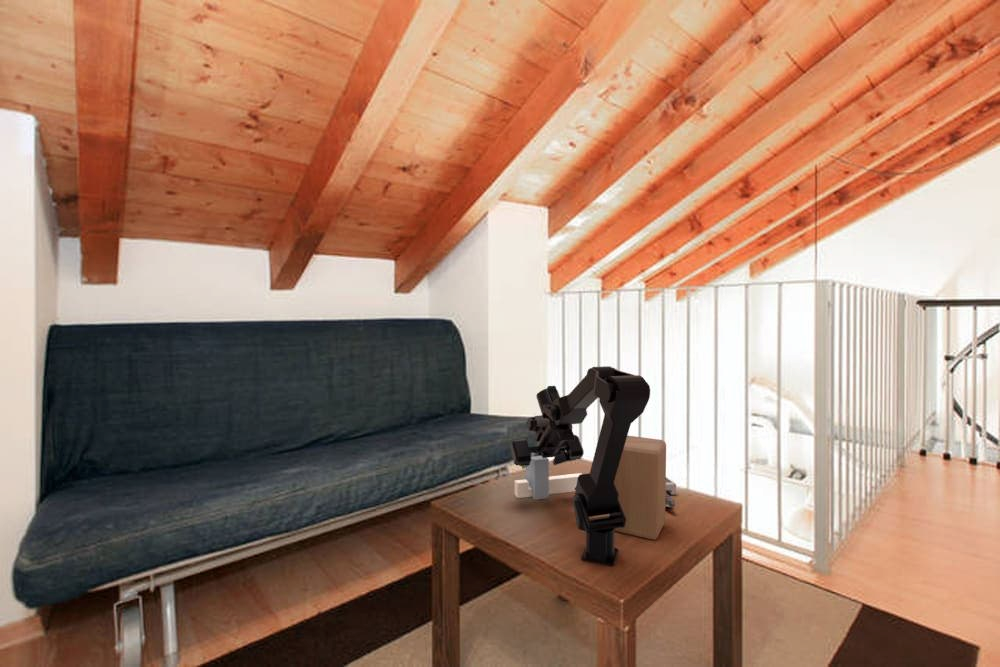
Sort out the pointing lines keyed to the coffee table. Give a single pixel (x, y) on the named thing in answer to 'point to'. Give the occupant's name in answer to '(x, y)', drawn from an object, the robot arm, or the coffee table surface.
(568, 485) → the slotted rail
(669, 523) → the coffee table surface
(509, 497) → the coffee table surface
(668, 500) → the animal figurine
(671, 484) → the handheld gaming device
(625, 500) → the wooden block
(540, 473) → the slotted block
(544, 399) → the robot arm
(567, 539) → the coffee table surface
